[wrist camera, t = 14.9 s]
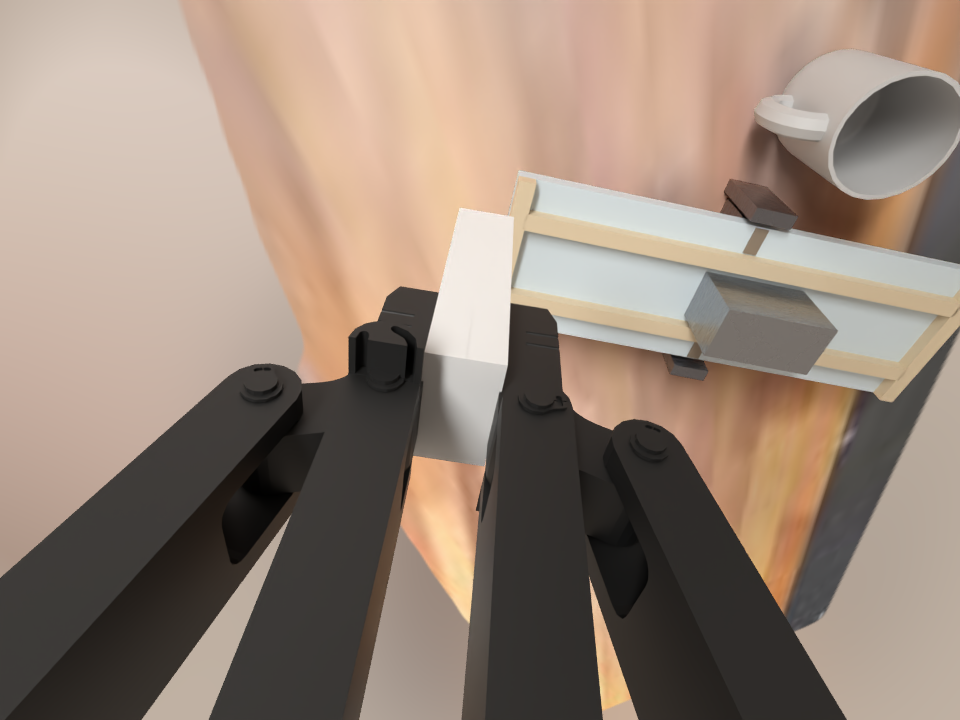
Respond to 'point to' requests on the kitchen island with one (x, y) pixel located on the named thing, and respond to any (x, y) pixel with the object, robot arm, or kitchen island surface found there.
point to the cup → (866, 121)
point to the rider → (758, 323)
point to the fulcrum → (757, 208)
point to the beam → (728, 251)
